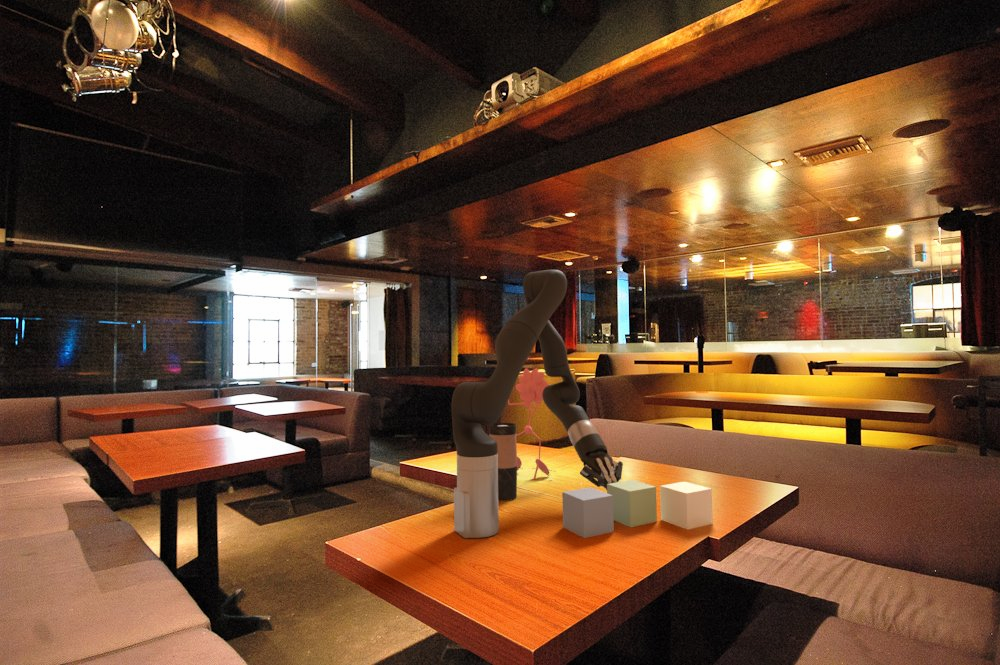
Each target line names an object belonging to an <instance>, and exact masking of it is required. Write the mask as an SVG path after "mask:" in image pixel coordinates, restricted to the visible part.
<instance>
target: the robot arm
mask: <svg viewBox="0 0 1000 665" xmlns="http://www.w3.org/2000/svg"><path fill="white" fill-rule="evenodd" d="M567 289H568V280H567V277H566V274H565V273H564V272H563V271H561V270H559V269H546V270H545V269H544V270H539V271H538V270H537V271H531V272H528V273H527V274H526V275H525V276H524V278H523V282H522V290H523V295H524V300H525V302H526V305H525V306H524V307H522V308H521V309H520V310H518V311H517V312H516V313H514V314H513V315H512V316H511V317H509V318H508V320H506V322H505V323H504V325H503V326H502V328H501V330H500V331H499V333H498V335H497V336H496V338H495V342H494V352H495V357H496V363H497V364H496V366H495V369H494V371H493V372H492V374H491V376H490V377H489V378H488V380H486V381H464V382H461V383H458V385H457V386H456V387H455V388H454V391H453V393H452V397H451V421H452V437H453V441H454V445H455V447H456V448H455V449H456V487H454V488H453V526H454V528H453V529H454V531H455V532H456V533H457V534H458V535H460V536H461V537H462V538H463V539H469V538H472V539H473V538H474V539H480V538H488V537H492V536H495V535H496V534H497V533H499V530H500V526H499V525H500V518H499V517H500V516H499V515H500V514H499V500H498V446H497V441H496V440H495V439H494V438H492V437H490V436H489V435H488V433H486V432H485V431H484V429H483V428H482V424H484V425H485V424H486V425H490V424H494V423H497V421H498V420H499V419H500V418H501V417H502V415H503V413H504V411H505V409H506V407H507V405H508V400H509V401H510V396H511V395H512V393H513V389H514V386H515V384H516V382H517V379H519V377H520V375H521V371H522V369H523V368H524V365H525V364H526V362H527V360H528V358H529V356H530V355H531V353H532V351H533V349H534V348H535V345H537V342H539V348H540V351H541V357H542V362H543V368H544V374H545V376H547V377H550V378H561V379H562V381H560V382H557V383H552V384H549V385H548V386H546V387H545V388H544V390H543V393H542V397H543V400H542V401H543V403H544V404H545V406H546V407H547V409H549V411H550V412H551V413H552V414H554V415H555V417H556V418H558V420H559V421H560V422H561V423H562V425H563V427H564V429H565V431H566V432H567V435H568V437H569V440H570V442H571V444H572V446H573V448H574V450H575V452H576V454H577V456H578V458H579V459H580V461H581V462H582V463H583V464H582V465H583V467H582V468H581V470H580V471H579V474H580V476H581V477H583V478H585V479H586V480H587V481H589V482H590V483H592V484H593V485H594V486H596V487H598V488H601V487H603V488H604V489H605V490H606V491H607V484H610V483H616V482H620V480H621V479H622V474H623V466H624V464H623V462H622V461H620V460H619V461H618V462H617V461H616V460H613V457H612V456H611V455H610V454H608V447H607V446H606V444H605V442H604V441H603V439H602V437H601V435H600V433H599V432H598V430H597V429H596V427H595V425H594V424H593V423H592V421H591V419H590V418H589V417H588V414H587V412H586V411H585V409H584V407H582V406H580V405H575V404H577V403H578V401H579V400H580V396H581V394H580V393H581V392H580V388H579V387H578V384H577V381H576V380H575V378H574V376H573V374H572V371H571V367H570V365H569V358H568V352H567V347H566V344H565V341H564V340H563V337H562V336H561V334H560V333H559V332H558V331H557V329H556V328H555V326H554V325H553V324H552V323H551V321H550V320H549V319H550V318H551V316H552V315H553V314H554V313H555V312H556V310H557V309H558V307H560V305H561V303H562V302H563V300H564V298H565V296H566V293H567Z"/></svg>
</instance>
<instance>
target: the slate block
mask: <svg viewBox="0 0 1000 665" xmlns="http://www.w3.org/2000/svg"><path fill="white" fill-rule="evenodd" d="M561 497H562V498H561V499H562V528H563V529H566V530H568V531H570V532H571V533H573V534H574V535H577V536H579V537H581V538H583V539H587V538H592V537H596V536H601V535H605V534H610V533H614V532H615V531H614V530H615V529H614V526H615V525H614V522H615V521H614V519H613V495H610V494H608V493H607V492H604V491H601V490H599V489H596V488H593V487H585V488H579V489H573V490H572V489H571V490H568V491H567V490H566V491H562V496H561Z"/></svg>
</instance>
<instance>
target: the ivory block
mask: <svg viewBox="0 0 1000 665" xmlns="http://www.w3.org/2000/svg"><path fill="white" fill-rule="evenodd" d="M659 493H660V494H659V496H660V499H659V500H660V521H664V522H666V523H669V524H672V525H674V526H677V527H679V528H682V529H685V530H688V531H689V530H692V529H696V528H700V527H705V526H709V525H713V523H714V521H713V520H714V518H713V499H712V498H713V495H712V494H713V492H712V488H710V487H706V486H703V485H698V484H696V483H691V482H688V481H679V482H674V483H668V484H663V485H659Z"/></svg>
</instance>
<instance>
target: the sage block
mask: <svg viewBox="0 0 1000 665" xmlns="http://www.w3.org/2000/svg"><path fill="white" fill-rule="evenodd" d="M606 493H608V494H610V495H613V519H614V522H617V523H618V524H619V523H620V524H622V525H624V526H626V527H629V528H634V527H639V526H643V525H648V524H652V523H653V524H654V523H655V522H656V523H657V522H658V512H657V511H658V510H657V509H658V508H657V507H658V506H657V505H658V504H657V486H655V485H652V484H649V483H648V484H647V483H644V482H640V481H639V480H634V479H629V480H623V481H618V482H616V483H610V484H607V490H606Z"/></svg>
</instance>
